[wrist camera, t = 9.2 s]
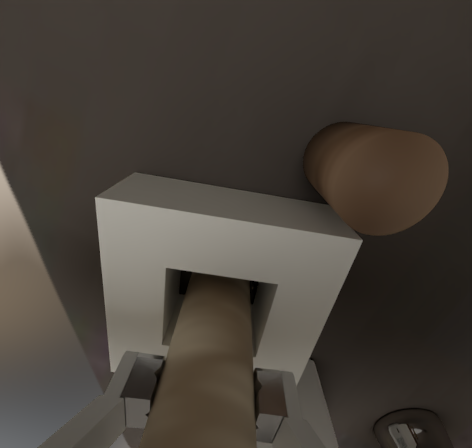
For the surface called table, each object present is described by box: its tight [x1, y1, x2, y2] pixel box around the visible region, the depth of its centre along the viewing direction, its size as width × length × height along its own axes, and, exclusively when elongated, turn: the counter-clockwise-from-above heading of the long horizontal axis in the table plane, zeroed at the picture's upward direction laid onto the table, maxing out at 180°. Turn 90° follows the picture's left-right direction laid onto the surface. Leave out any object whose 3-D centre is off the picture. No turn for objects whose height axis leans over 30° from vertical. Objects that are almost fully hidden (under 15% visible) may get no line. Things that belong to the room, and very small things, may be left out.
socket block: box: [95, 172, 363, 386], centre depth 14 cm, size 11×11×4 cm
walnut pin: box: [303, 122, 449, 236], centre depth 10 cm, size 4×4×5 cm
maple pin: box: [139, 272, 257, 448], centre depth 10 cm, size 4×4×12 cm
